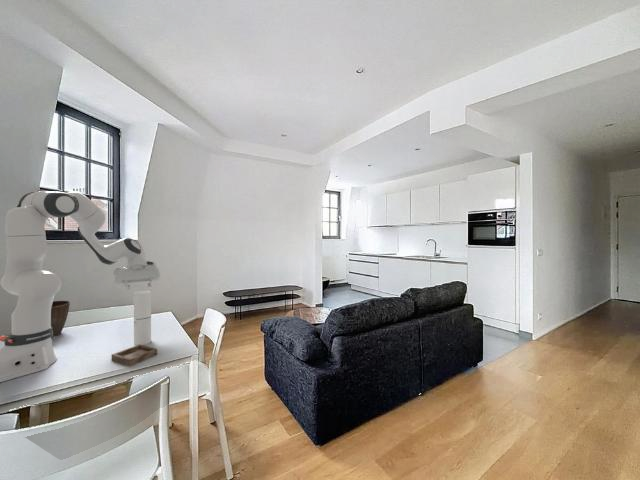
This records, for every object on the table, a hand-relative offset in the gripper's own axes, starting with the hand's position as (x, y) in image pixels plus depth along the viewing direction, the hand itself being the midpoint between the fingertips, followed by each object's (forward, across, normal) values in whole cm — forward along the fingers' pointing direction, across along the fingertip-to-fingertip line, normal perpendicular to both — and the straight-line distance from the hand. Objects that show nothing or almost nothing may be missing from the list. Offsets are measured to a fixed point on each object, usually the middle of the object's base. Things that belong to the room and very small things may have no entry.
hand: (139, 287), depth 146 cm
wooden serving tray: (+39, -5, -3) cm, 39 cm away
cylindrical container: (+27, 0, +9) cm, 28 cm away
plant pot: (-2, -36, +37) cm, 52 cm away
